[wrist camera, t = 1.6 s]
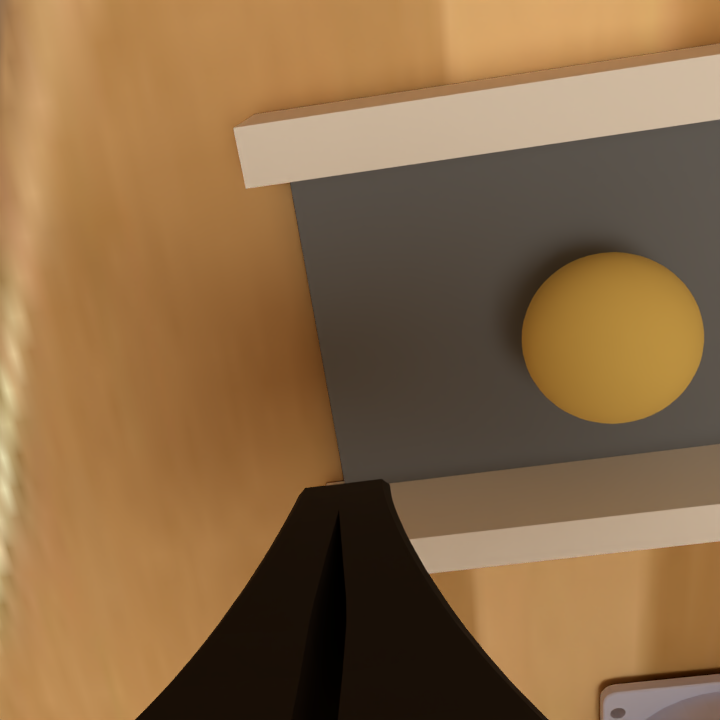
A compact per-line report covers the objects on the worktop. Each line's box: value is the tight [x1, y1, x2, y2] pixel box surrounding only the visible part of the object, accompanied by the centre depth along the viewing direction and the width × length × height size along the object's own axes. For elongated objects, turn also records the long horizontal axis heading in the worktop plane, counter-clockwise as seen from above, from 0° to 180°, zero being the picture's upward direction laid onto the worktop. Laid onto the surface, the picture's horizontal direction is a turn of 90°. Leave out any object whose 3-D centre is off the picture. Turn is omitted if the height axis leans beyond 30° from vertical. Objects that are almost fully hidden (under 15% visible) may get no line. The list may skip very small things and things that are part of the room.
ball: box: [522, 252, 704, 424], centre depth 16 cm, size 4×4×4 cm
